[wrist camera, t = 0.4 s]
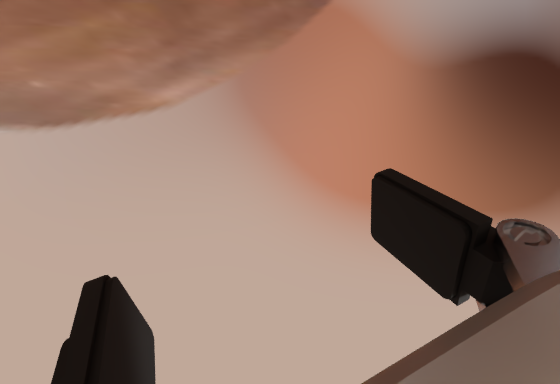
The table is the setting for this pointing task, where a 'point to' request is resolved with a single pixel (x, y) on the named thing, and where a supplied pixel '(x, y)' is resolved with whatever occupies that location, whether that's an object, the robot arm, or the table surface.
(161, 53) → the table surface
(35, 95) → the table surface
